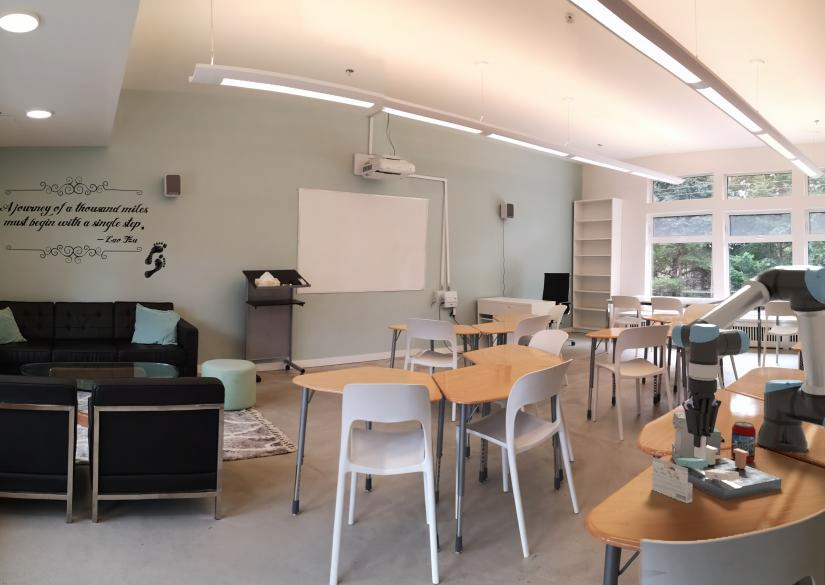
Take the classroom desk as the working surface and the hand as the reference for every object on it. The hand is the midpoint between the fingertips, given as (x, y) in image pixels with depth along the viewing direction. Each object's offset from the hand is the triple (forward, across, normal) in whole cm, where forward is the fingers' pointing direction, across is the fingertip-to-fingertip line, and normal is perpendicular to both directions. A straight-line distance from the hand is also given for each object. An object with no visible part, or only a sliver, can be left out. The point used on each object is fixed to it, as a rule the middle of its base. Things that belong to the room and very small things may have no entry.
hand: (699, 457), depth 171 cm
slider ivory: (+4, -9, -4) cm, 10 cm away
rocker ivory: (+3, 0, +8) cm, 8 cm away
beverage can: (+8, -30, -10) cm, 32 cm away
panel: (+8, -8, +2) cm, 11 cm away
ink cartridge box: (+8, +14, +4) cm, 17 cm away
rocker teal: (+3, 0, -3) cm, 4 cm away
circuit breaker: (+8, -15, -14) cm, 22 cm away
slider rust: (+4, -15, +2) cm, 15 cm away
